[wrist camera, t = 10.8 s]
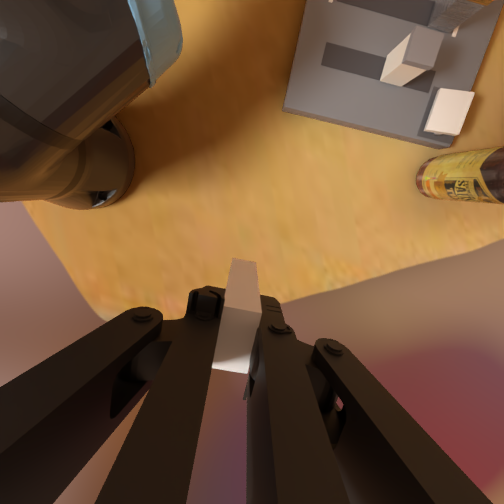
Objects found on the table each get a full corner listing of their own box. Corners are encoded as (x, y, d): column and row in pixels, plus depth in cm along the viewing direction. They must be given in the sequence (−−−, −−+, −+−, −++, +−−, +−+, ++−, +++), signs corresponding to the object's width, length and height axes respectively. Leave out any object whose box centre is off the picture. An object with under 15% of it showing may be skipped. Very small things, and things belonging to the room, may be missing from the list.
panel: (282, 110, 36) (284, 106, 34) (316, -46, 31) (321, -62, 29) (439, 149, 37) (450, 147, 35) (492, 6, 33) (508, -6, 31)
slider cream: (378, 81, 33) (405, 59, 27) (386, 54, 32) (416, 25, 26) (401, 87, 33) (433, 67, 27) (410, 60, 32) (444, 33, 27)
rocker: (420, 133, 35) (425, 129, 33) (434, 93, 34) (440, 87, 32) (451, 137, 34) (459, 134, 33) (466, 97, 33) (475, 92, 32)
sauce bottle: (405, 188, 39) (563, 188, 19) (428, 148, 37) (623, 107, 18) (440, 206, 39) (624, 224, 20) (464, 168, 38) (687, 148, 19)
